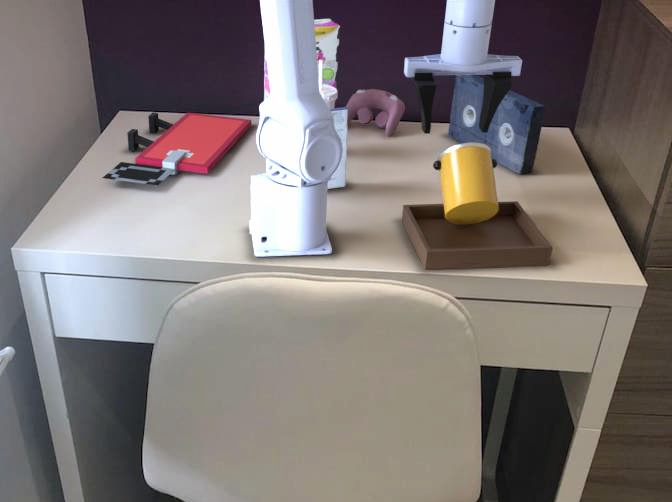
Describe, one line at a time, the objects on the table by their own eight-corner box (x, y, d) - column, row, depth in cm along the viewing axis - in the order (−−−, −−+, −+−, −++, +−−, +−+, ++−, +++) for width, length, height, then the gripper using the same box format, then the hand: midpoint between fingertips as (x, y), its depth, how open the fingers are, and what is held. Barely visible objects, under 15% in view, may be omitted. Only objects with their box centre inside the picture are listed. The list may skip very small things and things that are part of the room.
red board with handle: (90, 182, 119) (190, 196, 116) (88, 163, 117) (189, 176, 114) (167, 118, 142) (251, 128, 140) (166, 101, 141) (251, 111, 138)
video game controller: (399, 140, 138) (411, 97, 137) (390, 135, 134) (402, 91, 133) (347, 129, 143) (358, 87, 141) (336, 124, 139) (347, 81, 137)
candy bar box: (271, 135, 136) (272, 29, 126) (263, 125, 140) (262, 21, 130) (336, 128, 138) (341, 24, 129) (325, 118, 142) (330, 16, 133)
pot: (441, 240, 104) (451, 161, 98) (421, 206, 112) (430, 131, 106) (506, 237, 104) (520, 159, 99) (482, 204, 113) (494, 130, 107)
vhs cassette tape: (534, 172, 124) (547, 105, 118) (517, 175, 123) (530, 107, 117) (461, 133, 137) (470, 70, 131) (446, 135, 136) (454, 73, 130)
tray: (424, 269, 99) (426, 251, 98) (401, 221, 110) (403, 204, 108) (549, 265, 100) (553, 247, 99) (514, 217, 111) (517, 201, 109)
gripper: (517, 13, 106) (500, 119, 114) (404, 14, 106) (395, 121, 114) (533, 27, 100) (514, 137, 108) (413, 28, 100) (403, 139, 108)
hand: (454, 130), depth 111 cm, fingers open, 7 cm apart
